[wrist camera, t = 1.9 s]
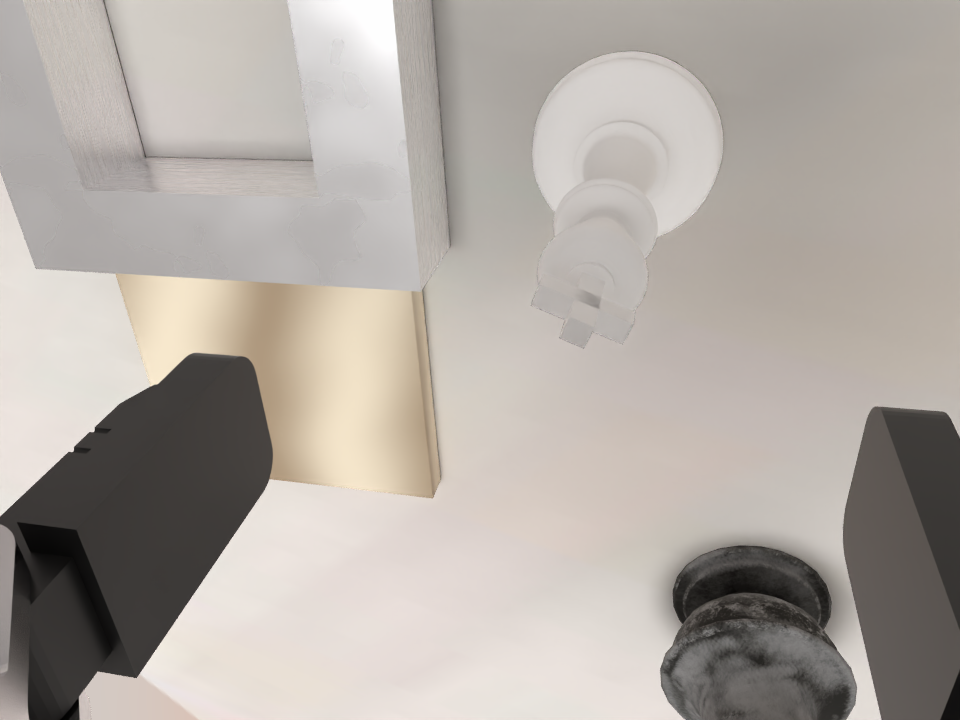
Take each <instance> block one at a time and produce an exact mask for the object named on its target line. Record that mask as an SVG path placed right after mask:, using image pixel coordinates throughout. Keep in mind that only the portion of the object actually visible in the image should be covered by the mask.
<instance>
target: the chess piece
mask: <svg viewBox="0 0 960 720" xmlns="http://www.w3.org/2000/svg"><path fill="white" fill-rule="evenodd" d="M722 154H723V130H722V124H721V120H720V116H719V113H718V110H717V108H716V105H715V103H714V101H713V99H712V98H711V96H710V94H709V92H708V91H707V90H706V88H705V87H704V86H703V84H702V83H701V82H700V81H699V80H698V79H697V78H696V77H695V76H694V75H693V74H692V73H690V72H689V71H688V70H687V69H685V68H684V67H682V66H681V65H679V64H677V63H675V62H674V61H672V60H669V59H667V58H665V57H662V56H659V55H655V54H651V53H646V52H638V51H624V52H615V53H610V54H605V55H602V56H599V57H596V58H594V59H591V60H589V61H587V62H585V63H583V64H581V65H580V66H578V67H576V68H575V69H573V70H572V71H571V72H569V73H568V74H567V75H566V76H565V77H564V78H563V79H562V80H561V81H560V82H559V83H558V84H557V85H556V86H555V87H554V88H553V90H552V91H551V92H550V94H549V95H548V97H547V98H546V100H545V102H544V104H543V106H542V108H541V110H540V112H539V115H538V118H537V121H536V125H535V129H534V135H533V145H532V161H533V169H534V174H535V178H536V181H537V184H538V186H539V189H540V191H541V193H542V195H543V197H544V198H545V200H546V202H547V203H548V205H549V206H550V207H551V209H552V210H553V211H554V212H555V216H554V222H553V230H554V238H553V239H552V240H551V241H550V242H549V243H548V245H547V246H546V247H545V249H544V251H543V253H542V255H541V257H540V260H539V263H538V269H537V280H538V285H539V286H538V288H537V291H536V293H535V295H534V298H533V300H532V303H531V306H533V307H536V308H538V309H540V310H543V311H545V312H547V313H550V314H552V315H554V316H557V317H559V318H561V319H564V320H565V321H564V324H563V327H562V331H561V334H560V339H562V340H565V341H567V342H569V343H572V344H574V345H576V346H579V347H581V348H585V346H586V344H587V342H588V340H589V338H590V336H591V334H592V332H594V333H596V334H599V335H601V336H604V337H606V338H608V339H611V340H613V341H615V342H618V343H620V344H622V345H623V343H624V341H625V339H626V338H627V336H628V334H629V332H630V330H631V328H632V327H633V325H634V319H635V312H634V310H635V309H636V308H637V307H638V306H639V304H640V303H641V301H642V299H643V297H644V295H645V293H646V289H647V285H648V269H647V264H646V261H645V259H646V257H647V256H648V255H649V254H650V252H651V250H652V249H653V246H654V244H655V241H656V238H657V237H659V236H662V235H664V234H666V233H668V232H670V231H672V230H674V229H675V228H677V227H678V226H680V225H681V224H683V223H684V222H685V221H686V220H688V219H689V218H690V217H691V216H692V215H693V214H694V213H695V212H696V211H697V210H698V208H699V207H700V206H701V205H702V203H703V202H704V201H705V199H706V197H707V196H708V194H709V192H710V190H711V188H712V186H713V184H714V182H715V179H716V177H717V174H718V172H719V168H720V165H721V161H722Z"/></svg>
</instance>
